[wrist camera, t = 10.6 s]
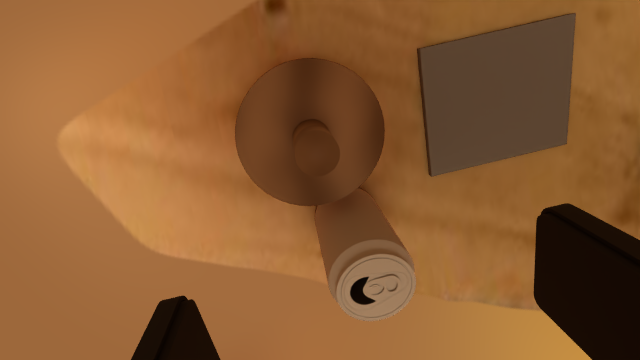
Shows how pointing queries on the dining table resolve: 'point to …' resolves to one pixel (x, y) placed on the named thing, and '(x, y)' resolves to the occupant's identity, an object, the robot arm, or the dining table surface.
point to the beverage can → (364, 258)
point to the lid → (309, 132)
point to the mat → (497, 94)
